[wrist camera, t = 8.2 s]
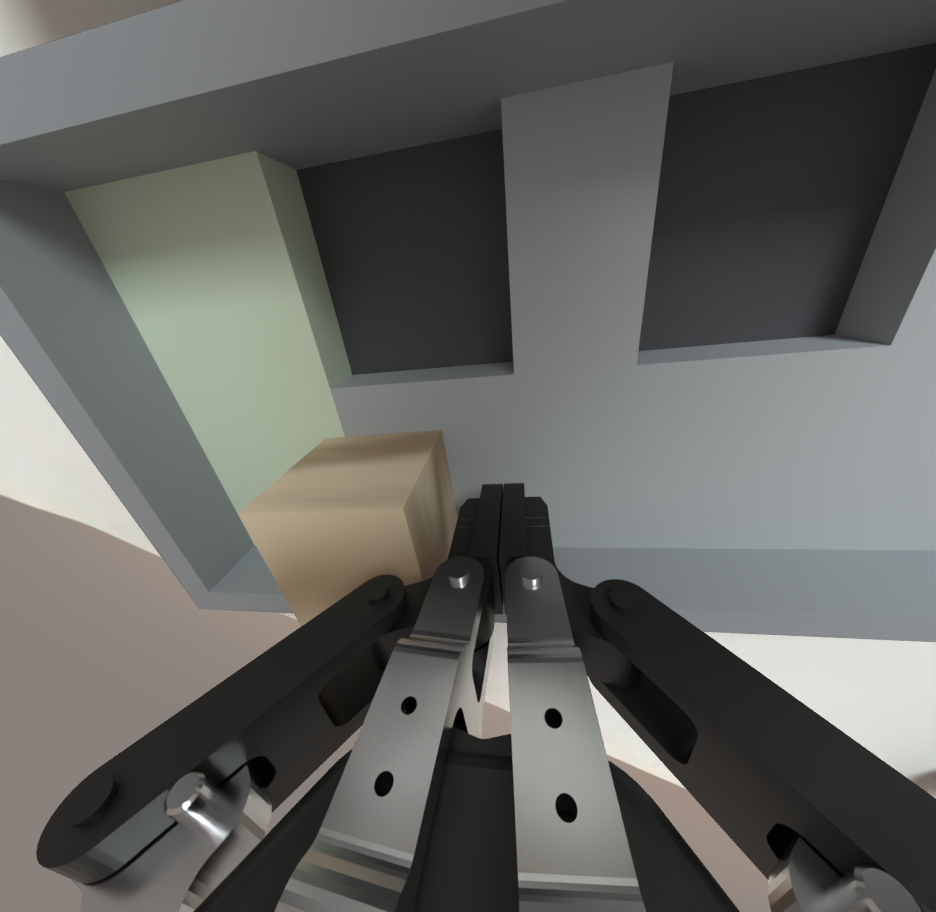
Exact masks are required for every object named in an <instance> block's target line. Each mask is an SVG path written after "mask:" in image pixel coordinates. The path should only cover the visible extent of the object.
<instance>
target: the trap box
mask: <svg viewBox="0 0 936 912" xmlns="http://www.w3.org/2000/svg"><path fill="white" fill-rule="evenodd" d="M0 335H1V337H2V338H3V339H4V341H5V342H6V344H7V345H8V346H9V348H10V349H11V350H12V352H13V353H14V355H15V356H16V357H17V359H18V360H19V362H20V363H21V364H22V366H23V367H24V368H25V370H26V371H27V373H28V374H29V375H30V377H31V378H32V379H33V381H34V382H35V384H36V385H37V386H38V388H39V389H40V390H41V392H42V393H43V395H44V396H45V397H46V399H47V400H48V401H49V403H50V404H51V406H52V407H53V408H54V410H55V411H56V412H57V414H58V415H59V417H60V418H61V419H62V421H63V422H64V423H65V425H66V426H67V428H68V429H69V430H70V432H71V433H72V434H73V436H74V437H75V439H76V440H77V441H78V443H79V444H80V446H81V447H82V448H83V450H84V451H85V452H86V454H87V455H88V457H89V458H90V459H91V461H92V462H93V463H94V465H95V466H96V468H97V469H98V470H99V472H100V473H101V474H102V476H103V477H104V479H105V480H106V481H107V483H108V484H109V485H110V487H111V488H112V490H113V491H114V492H115V494H116V495H117V496H118V498H119V499H120V501H121V502H122V503H123V505H124V506H125V507H126V509H127V510H128V512H129V513H130V514H131V516H132V517H133V518H134V520H135V521H136V523H137V524H138V525H139V527H140V528H141V530H142V531H143V532H144V534H145V535H146V536H147V538H148V539H149V541H150V542H151V543H152V545H153V546H154V547H155V549H156V550H157V552H158V553H159V554H160V556H161V557H162V558H163V560H164V561H165V562H166V564H167V565H168V567H169V568H170V569H171V571H172V572H173V574H174V575H175V576H176V578H177V579H178V580H179V582H180V583H181V585H182V586H183V587H184V589H185V590H186V591H187V593H188V594H189V596H190V597H191V598H192V600H193V601H194V603H195V604H196V605H197V606H198V608H199V609H215V610H237V611H258V612H280V613H294V612H293V611H292V609H291V607H290V605H289V604H288V602H287V600H286V598H285V596H284V595H283V593H282V591H281V589H280V588H279V586H278V584H277V582H276V580H275V579H274V577H273V575H272V573H271V572H270V570H269V568H268V566H267V564H266V563H265V561H264V559H263V557H262V556H261V554H260V552H259V550H258V548H257V547H256V545H255V543H254V541H253V540H252V538H251V536H250V534H249V532H248V531H247V529H246V527H245V525H244V524H243V522H242V520H241V518H240V516H239V515H238V512H240V511H241V510H242V509H243V508H244V507H245V506H247V505H248V504H249V503H250V502H251V501H252V500H254V499H255V498H256V497H257V496H258V495H260V494H261V493H262V492H263V491H264V490H265V489H267V488H268V487H269V486H270V485H271V484H272V483H274V482H275V481H276V480H277V479H278V478H280V477H281V476H282V475H283V474H284V473H285V472H287V471H288V470H289V469H290V468H291V467H292V466H294V465H295V464H296V463H297V462H298V461H300V460H301V459H302V458H303V457H304V456H305V455H307V454H308V453H309V452H310V451H311V450H312V449H314V448H315V447H316V446H317V445H318V444H320V443H321V442H322V441H323V440H324V439H325V438H338V437H352V436H366V435H379V434H393V433H407V432H421V431H435V430H442V434H443V440H444V445H445V451H446V456H447V461H448V467H449V472H450V478H451V483H452V488H453V494H454V499H455V505H456V510H457V515H459V511H460V507H461V506H462V505H463V504H464V503H465V502H466V500H467V499H468V498H480V494H481V488H482V484H503V488H504V483H524V486H525V497H541V498H542V499H543V501H544V502H545V503H546V504H547V506H548V513H549V521H550V529H551V537H552V545H553V553H554V560H555V564H556V567H557V568H558V570H559V571H560V572H561V573H562V574H563V575H564V576H565V577H566V578H568V579H570V580H571V581H573V582H576V583H578V584H581V585H585V586H588V587H592V588H595V586H596V585H598V584H599V583H601V582H602V581H605V580H610V579H620V580H625V581H629V582H632V583H634V584H636V585H638V586H640V587H641V588H643V589H644V590H645V591H647V592H648V593H650V594H651V595H652V596H654V597H655V598H657V599H658V600H659V601H661V602H662V603H664V604H665V605H666V606H668V607H669V608H671V609H672V610H673V611H675V612H676V613H678V614H679V615H680V616H682V617H683V618H685V619H686V620H687V621H689V622H690V623H691V624H693V625H694V626H696V627H697V628H698V629H700V630H701V631H703V632H723V633H745V634H767V635H789V636H811V637H834V638H856V639H878V640H900V641H922V642H936V0H183V1H180V2H176V3H173V4H170V5H167V6H164V7H160V8H157V9H154V10H151V11H148V12H144V13H141V14H138V15H135V16H132V17H128V18H125V19H122V20H119V21H115V22H112V23H109V24H106V25H103V26H99V27H96V28H93V29H90V30H87V31H83V32H80V33H77V34H74V35H71V36H67V37H64V38H61V39H58V40H55V41H51V42H48V43H45V44H42V45H39V46H35V47H32V48H29V49H26V50H23V51H19V52H16V53H13V54H10V55H7V56H3V57H0ZM494 622H501V623H507V614H505V610H504V603H503V614H495V617H494Z"/></svg>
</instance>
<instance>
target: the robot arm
mask: <svg viewBox="0 0 936 912" xmlns="http://www.w3.org/2000/svg"><path fill="white" fill-rule="evenodd" d="M503 603H504V610H505V614H507V633H508V648H507V653H508V676H509V697H510V718H511V734H508V735H503V736H499V737H494V738H490V739H482V715H483V705H484V698H485V692H486V685H487V678H488V671H489V665H490V658H491V651H492V645H493V629H494V617H495V614H503ZM587 676H589V679H590V681H591V682H592V684H593V685H594V687H595V688H596V689H597V690H598V691H599V692H600V694H601V695H602V696H603V697H604V698H605V699H606V700H607V701H608V702H609V703H610V705H611V706H612V707H613V708H614V709H615V710H616V711H617V712H618V713H619V715H620V716H621V717H622V718H623V719H624V720H625V721H626V722H627V723H628V725H629V726H630V727H631V728H632V729H633V730H634V731H635V732H636V733H637V735H638V736H639V737H640V738H641V739H642V740H643V741H644V742H645V743H646V745H647V746H648V747H649V748H650V749H651V750H652V751H653V752H654V753H655V755H656V756H657V757H658V758H659V759H660V760H661V761H662V762H663V763H664V765H665V766H666V767H667V768H668V769H669V770H670V771H671V772H672V773H673V775H674V776H675V777H676V778H677V779H678V780H679V781H680V782H681V783H682V785H683V786H684V787H685V788H686V789H687V790H688V791H689V792H690V793H691V795H692V796H693V797H694V798H695V799H696V800H697V801H698V802H699V803H700V804H701V806H702V807H703V808H704V809H705V810H706V811H707V812H708V813H709V815H710V816H711V817H712V818H713V819H714V820H715V821H716V822H717V823H718V825H720V827H721V828H722V829H723V830H724V831H725V832H726V833H727V835H728V836H729V837H730V838H731V839H732V840H733V841H734V842H735V843H736V845H737V846H738V847H739V848H740V849H741V850H742V851H743V852H744V853H745V855H746V856H747V857H748V858H749V859H750V860H751V861H752V862H753V863H754V864H755V866H756V867H757V868H758V869H759V870H760V871H761V872H762V873H763V875H765V877H766V878H767V879H768V880H769V881H768V898H769V904H770V908H771V912H936V799H935V798H934V797H933V796H931V795H930V794H928V793H927V792H926V791H924V790H923V789H921V788H920V787H919V786H917V785H916V784H914V783H913V782H912V781H910V780H909V779H907V778H906V777H905V776H903V775H902V774H901V773H899V772H898V771H896V770H895V769H894V768H892V767H891V766H889V765H888V764H887V763H885V762H884V761H882V760H881V759H880V758H878V757H877V756H875V755H874V754H873V753H871V752H870V751H868V750H867V749H866V748H864V747H863V746H861V745H860V744H859V743H857V742H856V741H855V740H853V739H852V738H850V737H849V736H848V735H846V734H845V733H843V732H842V731H841V730H839V729H838V728H836V727H835V726H834V725H832V724H831V723H829V722H828V721H827V720H825V719H824V718H822V717H821V716H820V715H818V714H817V713H816V712H814V711H813V710H811V709H810V708H809V707H807V706H806V705H804V704H803V703H802V702H800V701H799V700H797V699H796V698H795V697H793V696H792V695H790V694H789V693H788V692H786V691H785V690H783V689H782V688H781V687H779V686H778V685H776V684H775V683H774V682H772V681H771V680H770V679H768V678H767V677H765V676H764V675H763V674H761V673H760V672H758V671H757V670H756V669H754V668H753V667H751V666H750V665H749V664H747V663H746V662H744V661H743V660H742V659H740V658H739V657H737V656H736V655H735V654H733V653H732V652H730V651H729V650H728V649H726V648H725V647H724V646H722V645H721V644H719V643H718V642H717V641H715V640H714V639H712V638H711V637H710V636H708V635H707V634H705V633H704V632H703V631H701V630H700V629H698V628H697V627H696V626H694V625H693V624H691V623H690V622H689V621H687V620H686V619H685V618H683V617H682V616H680V615H679V614H678V613H676V612H675V611H673V610H672V609H671V608H669V607H668V606H666V605H665V604H664V603H662V602H661V601H659V600H658V599H657V598H655V597H654V596H652V595H651V594H650V593H648V592H647V591H645V590H644V589H643V588H641V587H640V586H638V585H636V584H634V583H632V582H629V581H625V580H620V579H610V580H605V581H602V582H601V583H599V584H598V585H596V586H595V588H592V587H588V586H585V585H581V584H578V583H576V582H573V581H571V580H570V579H568V578H566V577H565V576H564V575H563V574H562V573H561V572H560V571H559V570H558V568H557V567H556V564H555V560H554V553H553V545H552V537H551V529H550V521H549V513H548V506H547V504H546V503H545V502H544V501H543V499H542V498H541V497H525V486H524V483H504V488H503V484H482V488H481V494H480V498H468V499H467V500H466V502H465V503H464V504H463V505H462V506H461V507H460V511H459V515H458V520H457V523H456V528H455V531H454V535H453V539H452V543H451V547H450V551H449V555H448V559H447V560H446V561H444V562H443V563H442V564H440V565H439V566H438V568H437V569H436V571H435V573H434V576H433V577H431V578H429V579H427V580H424V581H421V582H417V583H413V584H409V585H405V586H404V583H403V581H402V580H401V579H400V578H399V577H397V576H394V575H388V574H386V575H379V576H376V577H373V578H371V579H369V580H368V581H366V582H365V583H363V584H362V585H360V586H359V587H357V588H356V589H354V590H353V591H352V592H350V593H349V594H347V595H346V596H344V597H343V598H342V599H340V600H339V601H337V602H336V603H334V604H333V605H332V606H330V607H329V608H327V609H326V610H324V611H323V612H321V613H320V614H319V615H317V616H316V617H314V618H313V619H311V620H310V621H309V622H307V623H306V624H304V625H303V626H301V627H300V628H299V629H297V630H296V631H294V632H293V633H291V634H290V635H289V636H287V637H286V638H284V639H283V640H281V641H280V642H279V643H277V644H276V645H274V646H273V647H271V648H270V649H268V650H267V651H266V652H264V653H263V654H261V655H260V656H258V657H257V658H256V659H254V660H253V661H251V662H250V663H248V664H247V665H246V666H244V667H243V668H241V669H240V670H238V671H237V672H235V673H234V674H233V675H231V676H230V677H228V678H227V679H225V680H224V681H223V682H221V683H220V684H218V685H217V686H215V687H214V688H212V689H211V690H210V691H208V692H207V693H205V694H204V695H203V696H201V697H200V698H198V699H197V700H195V701H194V702H192V703H191V704H190V705H188V706H187V707H185V708H184V709H183V710H181V711H180V712H178V713H177V714H175V715H174V716H172V717H171V718H169V719H168V720H167V721H165V722H164V723H162V724H161V725H159V726H158V727H157V728H155V729H154V730H152V731H151V732H149V733H148V734H147V735H145V736H144V737H142V738H141V739H139V740H138V741H136V742H135V743H134V744H132V745H131V746H129V747H128V748H126V749H125V750H124V751H122V752H121V753H119V754H118V755H116V756H115V757H114V758H112V759H111V760H109V761H108V762H106V763H105V764H104V765H102V766H101V767H99V768H98V769H97V770H95V771H94V772H93V773H91V774H90V775H89V776H88V777H86V778H85V779H84V780H83V781H82V782H81V783H80V784H79V785H78V786H77V787H76V788H75V789H73V790H72V792H71V793H70V794H69V795H68V796H67V797H66V798H65V799H64V800H63V802H62V803H61V804H60V805H59V807H58V808H57V809H56V811H55V812H54V814H53V815H52V816H51V818H50V820H49V821H48V823H47V825H46V826H45V828H44V830H43V832H42V834H41V837H40V840H39V842H38V847H37V852H36V853H37V860H38V862H39V864H40V865H42V866H43V867H45V868H47V869H49V870H52V871H54V872H56V873H58V874H61V875H63V876H65V877H67V878H70V879H72V881H73V883H74V884H76V885H77V886H78V887H79V888H80V889H81V892H82V900H81V912H740V911H739V910H738V909H737V907H736V906H735V905H734V904H733V902H732V901H731V900H730V898H729V897H728V896H727V894H726V893H725V892H724V890H723V889H722V888H721V887H720V885H719V884H718V883H717V881H716V880H715V879H714V878H713V876H712V875H711V874H710V872H709V871H708V870H707V869H706V867H705V866H704V865H703V863H702V862H701V861H700V860H699V858H698V857H697V856H696V854H695V853H694V852H693V850H691V848H690V847H689V845H688V844H687V843H686V841H685V840H684V839H683V837H682V836H681V835H680V834H679V832H678V831H677V830H676V828H675V827H674V826H673V825H672V823H671V822H670V821H669V819H668V818H667V817H666V816H665V814H664V813H663V812H662V810H661V809H660V808H659V807H658V805H657V804H656V803H655V802H654V800H653V799H652V798H651V797H650V796H649V795H648V794H647V793H646V792H645V791H644V790H643V789H642V788H641V787H640V785H639V784H638V783H637V782H636V781H634V780H633V779H632V778H631V777H630V776H629V775H628V774H627V773H625V772H624V771H623V770H621V769H620V768H619V767H617V766H616V765H615V764H613V763H612V762H610V761H608V759H607V755H606V751H605V747H604V743H603V739H602V735H601V731H600V726H599V722H598V718H597V714H596V710H595V706H594V702H593V698H592V694H591V690H590V686H589V682H588V678H587ZM360 726H362V728H361V730H360V733H359V735H358V737H357V740H356V742H355V745H354V747H353V749H351V750H350V751H349V752H348V753H347V754H345V755H344V756H343V757H342V758H341V759H339V761H337V762H336V763H335V764H334V765H333V766H332V767H331V768H330V769H329V770H328V772H327V773H326V774H325V775H324V776H323V777H322V778H321V779H320V780H319V781H318V782H317V783H316V784H315V785H314V786H313V787H312V788H311V789H310V790H309V791H308V793H306V794H305V795H304V797H303V798H302V799H301V800H300V801H299V802H298V803H297V804H296V805H295V806H294V807H293V808H292V809H291V810H290V811H289V812H288V813H287V814H286V815H285V816H284V817H283V818H282V820H281V821H280V822H279V823H278V824H277V825H276V826H275V827H274V828H273V829H272V830H271V831H270V832H269V833H268V834H267V835H266V831H267V828H268V826H269V822H270V818H271V813H272V812H273V811H274V810H275V809H276V808H277V807H278V806H279V805H280V804H281V803H282V802H283V801H284V800H285V799H286V798H287V797H288V796H290V795H291V794H292V793H293V792H294V790H296V789H297V788H298V787H299V786H300V785H301V784H302V783H303V782H304V781H305V780H306V779H307V778H308V777H309V776H310V775H311V774H312V773H313V772H314V771H315V770H316V769H317V768H318V767H319V766H320V765H322V763H323V762H325V761H326V760H327V758H329V757H330V756H331V755H332V754H333V753H334V752H335V751H336V750H337V749H338V748H339V747H340V746H341V745H342V744H343V743H344V742H345V741H346V740H347V739H348V738H349V737H350V736H351V735H352V734H353V733H354V732H355V731H357V730H358V729H359V728H360Z"/></svg>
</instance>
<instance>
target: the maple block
mask: <svg viewBox="0 0 936 912" xmlns="http://www.w3.org/2000/svg"><path fill="white" fill-rule="evenodd" d="M238 515H239V516H240V518H241V520H242V522H243V524H244V525H245V527H246V529H247V531H248V532H249V534H250V536H251V538H252V540H253V541H254V543H255V545H256V547H257V548H258V550H259V552H260V554H261V556H262V557H263V559H264V561H265V563H266V564H267V566H268V568H269V570H270V572H271V573H272V575H273V577H274V579H275V580H276V582H277V584H278V586H279V588H280V589H281V591H282V593H283V595H284V596H285V598H286V600H287V602H288V604H289V605H290V607H291V609H292V611H293V612H294V614H295V616H296V618H297V620H298V621H299V623H300V625H301V626H303V625H304V624H306V623H307V622H309V621H310V620H311V619H313V618H314V617H316V616H317V615H319V614H320V613H321V612H323V611H324V610H326V609H327V608H329V607H330V606H332V605H333V604H334V603H336V602H337V601H339V600H340V599H342V598H343V597H344V596H346V595H347V594H349V593H350V592H352V591H353V590H354V589H356V588H357V587H359V586H360V585H362V584H363V583H365V582H366V581H368V580H369V579H371V578H373V577H376V576H379V575H386V574H388V575H394V576H397V577H399V578H400V579H401V580H402V581H403V583H404V586H405V585H409V584H413V583H417V582H421V581H424V580H427V579H429V578H431V577H433V576H434V573H435V571H436V569H437V568H438V566H439V565H440V564H442V563H443V562H444V561H446V560H447V559H448V555H449V551H450V547H451V543H452V539H453V535H454V531H455V528H456V523H457V520H458V515H457V510H456V505H455V499H454V494H453V488H452V483H451V478H450V472H449V467H448V461H447V456H446V451H445V445H444V440H443V434H442V430H435V431H421V432H407V433H393V434H379V435H366V436H352V437H338V438H325V439H324V440H323V441H322V442H321V443H320V444H318V445H317V446H316V447H315V448H314V449H312V450H311V451H310V452H309V453H308V454H307V455H305V456H304V457H303V458H302V459H301V460H300V461H298V462H297V463H296V464H295V465H294V466H292V467H291V468H290V469H289V470H288V471H287V472H285V473H284V474H283V475H282V476H281V477H280V478H278V479H277V480H276V481H275V482H274V483H272V484H271V485H270V486H269V487H268V488H267V489H265V490H264V491H263V492H262V493H261V494H260V495H258V496H257V497H256V498H255V499H254V500H252V501H251V502H250V503H249V504H248V505H247V506H245V507H244V508H243V509H242V510H241V511H240V512H238Z"/></svg>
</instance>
